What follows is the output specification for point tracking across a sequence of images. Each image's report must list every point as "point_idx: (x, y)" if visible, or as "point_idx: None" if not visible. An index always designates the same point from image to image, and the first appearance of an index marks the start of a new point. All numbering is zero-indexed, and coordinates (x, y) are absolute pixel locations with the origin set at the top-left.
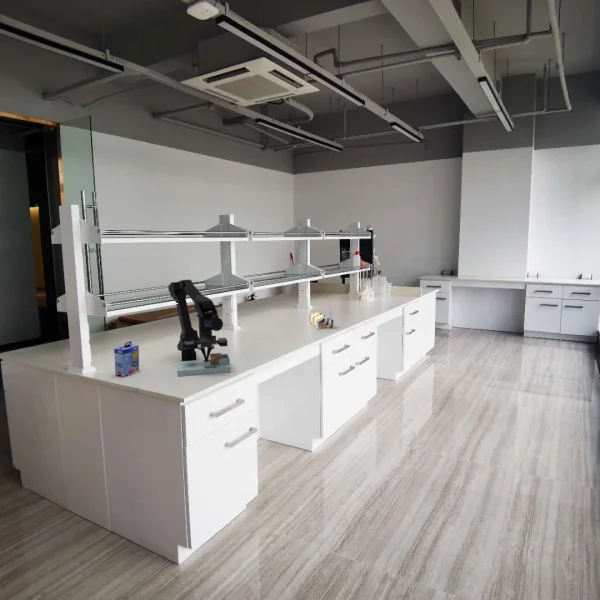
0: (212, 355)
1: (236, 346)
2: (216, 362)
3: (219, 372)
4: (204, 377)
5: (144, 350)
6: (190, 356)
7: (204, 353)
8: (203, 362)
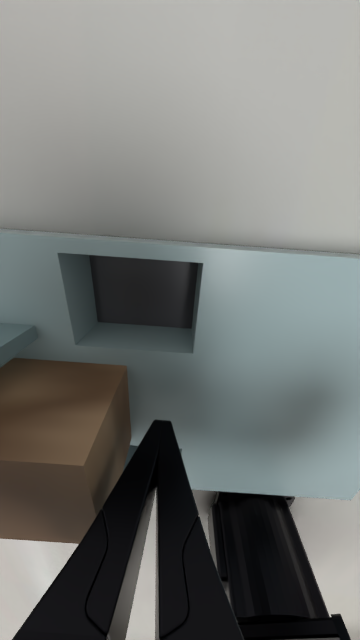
0: (59, 493)
1: (42, 574)
2: (56, 378)
3: (55, 232)
4: (222, 118)
5: (350, 604)
6: (254, 542)
7: (181, 567)
8: (187, 446)
